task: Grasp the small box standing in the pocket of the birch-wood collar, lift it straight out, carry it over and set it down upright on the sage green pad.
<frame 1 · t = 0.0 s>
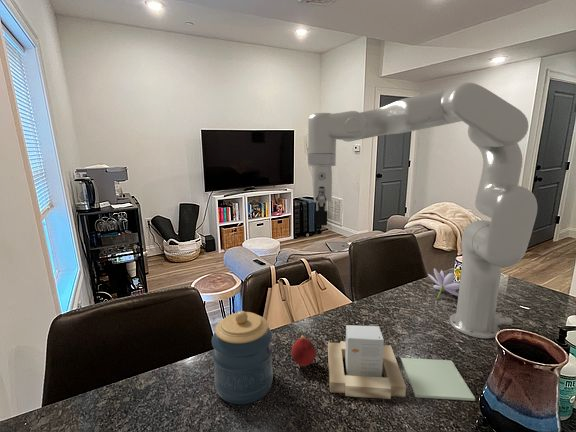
hand: (320, 221, 90), 31 cm above the kitchen counter, tool pointing down, fingers open, 9 cm apart
pocket plate: (362, 371, 74), on the kitchen counter
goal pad: (434, 378, 72), on the kitchen counter
canister: (244, 384, 71), on the kitchen counter
small box: (362, 372, 74), resting in pocket plate
red round piece: (303, 366, 77), on the kitchen counter
water lily: (446, 296, 112), on the kitchen counter
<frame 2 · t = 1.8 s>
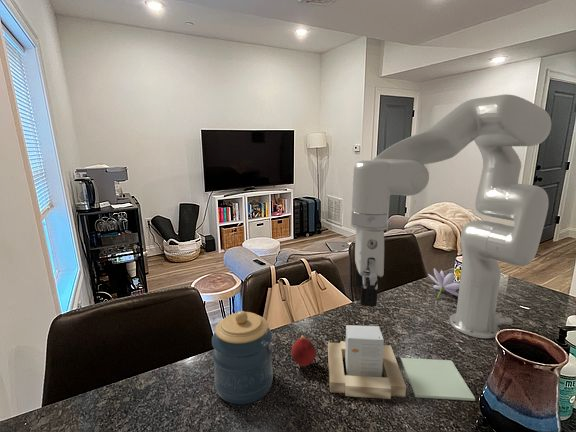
hand: (364, 295, 70), 20 cm above the kitchen counter, tool pointing down, fingers open, 9 cm apart
nothing on the kitchen counter moved.
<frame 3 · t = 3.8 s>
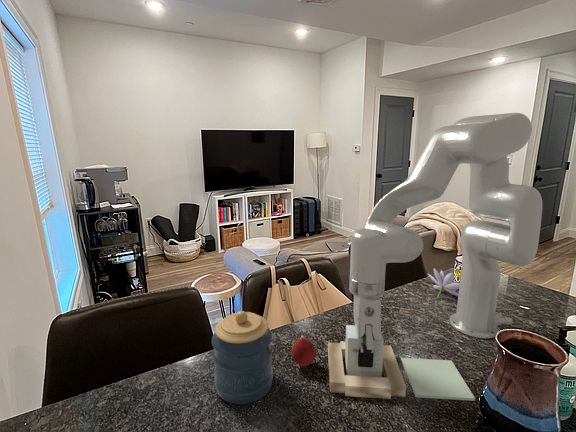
hand: (363, 356, 73), 4 cm above the kitchen counter, tool pointing down, fingers closed on small box, 5 cm apart
small box: (362, 372, 74), resting in pocket plate, touching gripper
everything else where it was.
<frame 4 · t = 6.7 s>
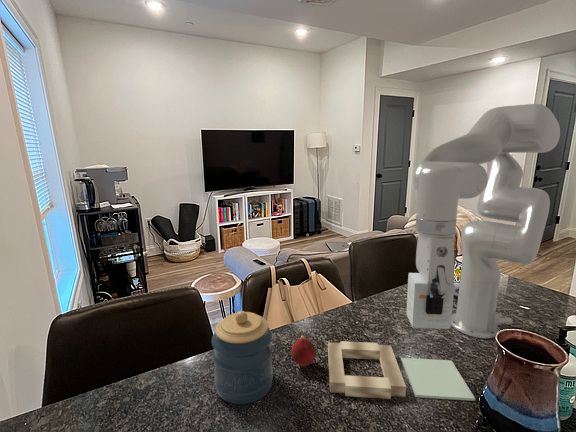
hand: (428, 305, 69), 18 cm above the kitchen counter, tool pointing down, fingers closed on small box, 5 cm apart
small box: (427, 322, 70), point 14 cm above the kitchen counter, touching gripper
everything else where it was.
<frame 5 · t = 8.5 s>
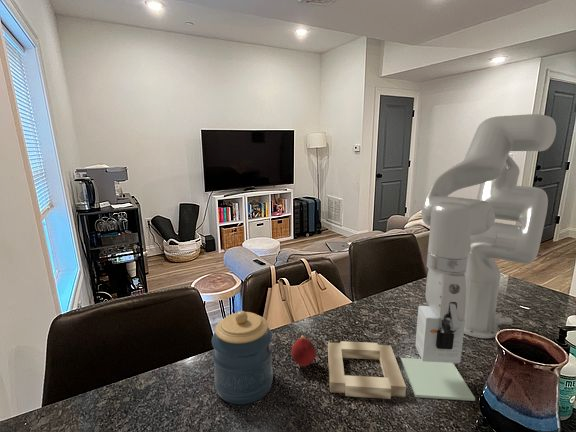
hand: (438, 338, 70), 10 cm above the kitchen counter, tool pointing down, fingers closed on small box, 5 cm apart
small box: (436, 355, 70), point 6 cm above the kitchen counter, touching gripper
everything else where it was.
when the fingers open (6 cm above the kitchen counter, at t = 9.8 s): small box drops 1 cm, resting on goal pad.
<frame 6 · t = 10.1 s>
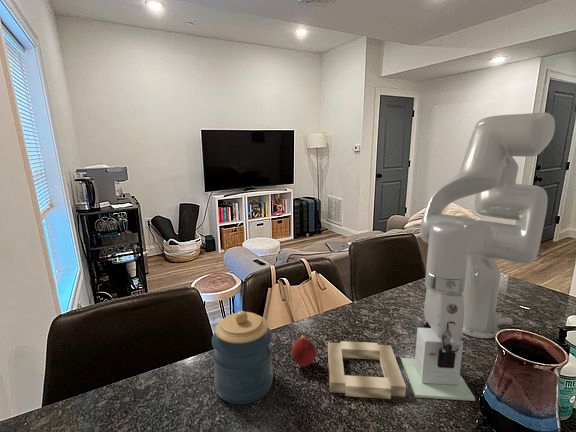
hand: (437, 352, 70), 7 cm above the kitchen counter, tool pointing down, fingers open, 8 cm apart
small box: (435, 376, 72), resting on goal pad
everything else where it was.
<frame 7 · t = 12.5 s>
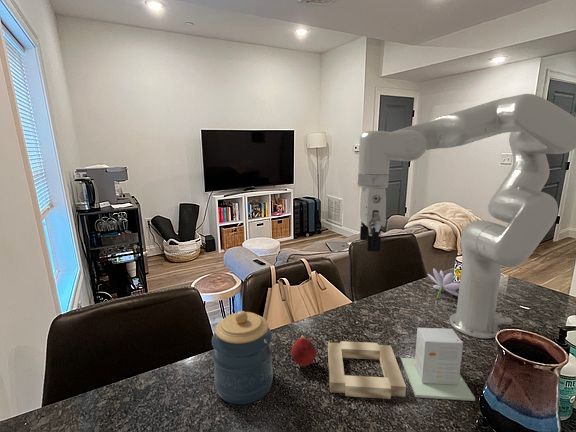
hand: (369, 245, 84), 26 cm above the kitchen counter, tool pointing down, fingers open, 9 cm apart
nothing on the kitchen counter moved.
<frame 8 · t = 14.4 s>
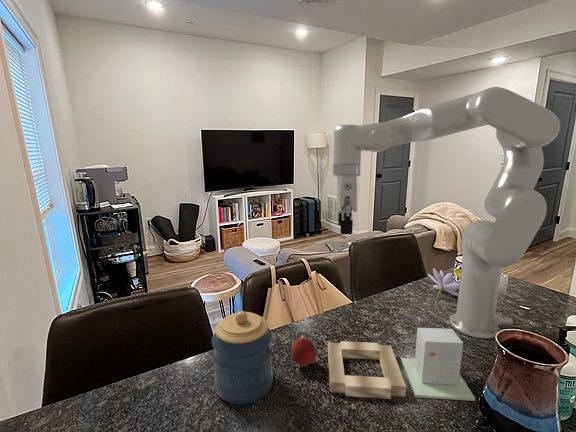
hand: (344, 229, 92), 28 cm above the kitchen counter, tool pointing down, fingers open, 9 cm apart
nothing on the kitchen counter moved.
at the end: small box inside the target area on the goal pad (0.2 cm from its centre), point 0.4 cm above the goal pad's base; small box tilted 0°; the gripper is holding nothing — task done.
